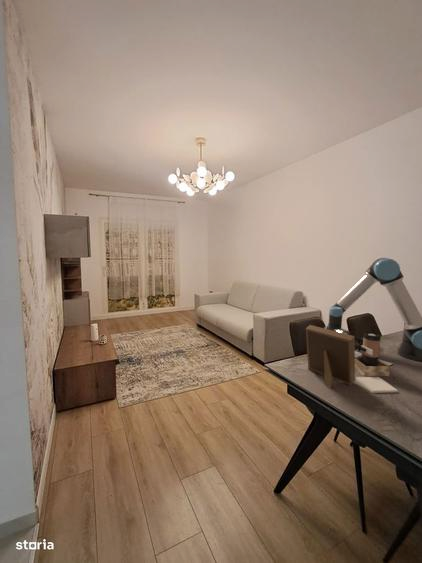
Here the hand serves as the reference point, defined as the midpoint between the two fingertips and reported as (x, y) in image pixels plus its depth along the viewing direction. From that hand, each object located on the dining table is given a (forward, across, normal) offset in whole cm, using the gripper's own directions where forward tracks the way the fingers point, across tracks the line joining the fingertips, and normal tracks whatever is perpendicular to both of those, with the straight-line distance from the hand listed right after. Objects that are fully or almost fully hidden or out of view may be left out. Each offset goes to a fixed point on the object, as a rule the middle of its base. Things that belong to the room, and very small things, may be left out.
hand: (378, 352), depth 131 cm
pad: (+9, +10, -12) cm, 18 cm away
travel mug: (-5, 0, -12) cm, 13 cm away
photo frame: (-2, +29, -12) cm, 32 cm away
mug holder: (-5, 0, -12) cm, 13 cm away
